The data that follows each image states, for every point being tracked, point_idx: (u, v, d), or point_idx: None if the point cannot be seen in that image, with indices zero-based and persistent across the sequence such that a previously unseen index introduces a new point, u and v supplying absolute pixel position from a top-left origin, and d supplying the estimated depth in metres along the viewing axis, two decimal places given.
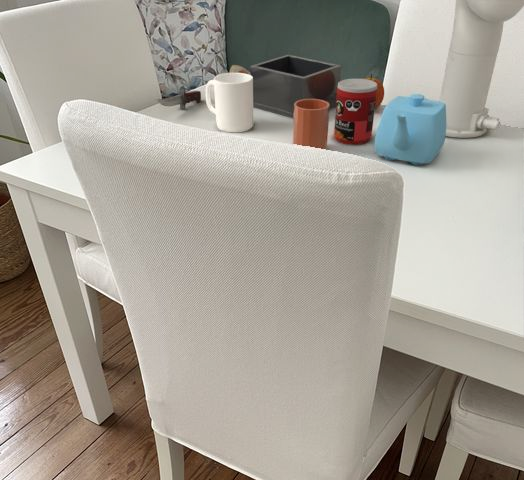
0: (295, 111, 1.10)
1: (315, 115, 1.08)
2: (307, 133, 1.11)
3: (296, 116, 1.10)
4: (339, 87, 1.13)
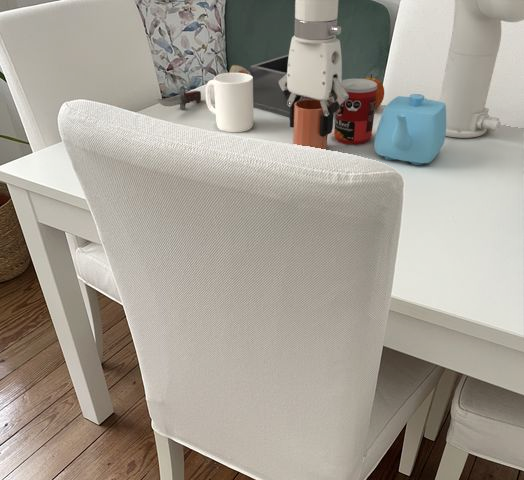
0: (295, 111, 1.10)
1: (315, 115, 1.08)
2: (307, 133, 1.11)
3: (296, 116, 1.10)
4: None
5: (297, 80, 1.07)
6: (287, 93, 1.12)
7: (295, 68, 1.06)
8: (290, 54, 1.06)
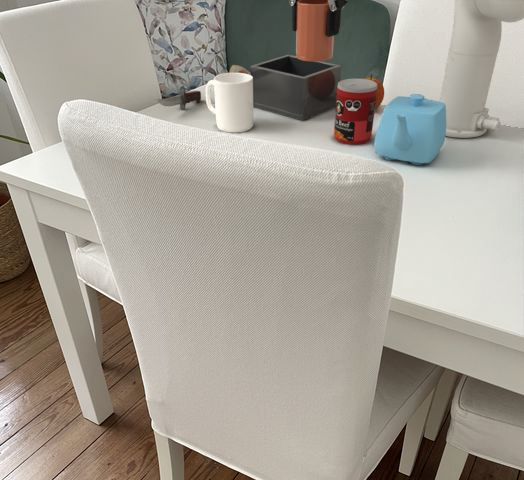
0: (298, 9, 1.00)
1: (320, 10, 0.99)
2: (312, 33, 1.01)
3: (299, 14, 1.01)
4: (339, 87, 1.13)
5: None
6: None
7: None
8: None
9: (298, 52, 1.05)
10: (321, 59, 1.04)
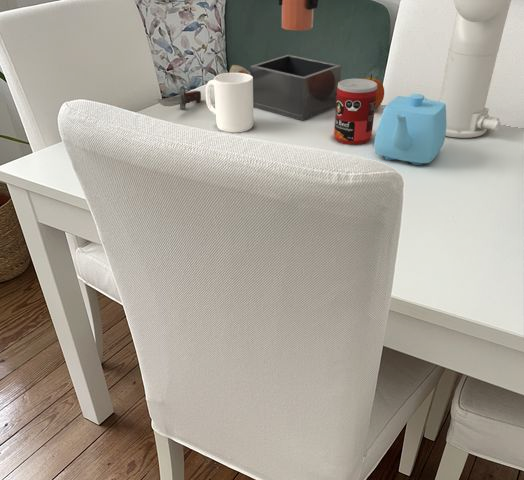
0: None
1: None
2: (294, 6, 1.20)
3: None
4: (339, 87, 1.13)
5: None
6: None
7: None
8: None
9: (283, 23, 1.24)
10: (302, 29, 1.23)
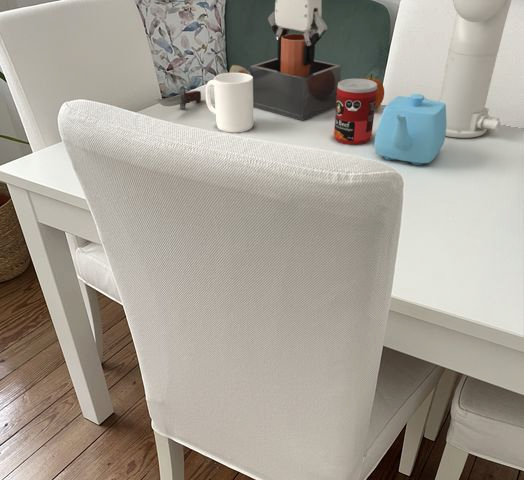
0: (282, 43, 1.28)
1: (299, 45, 1.26)
2: (292, 62, 1.29)
3: (282, 47, 1.28)
4: (339, 87, 1.13)
5: (283, 14, 1.25)
6: (275, 28, 1.30)
7: (282, 3, 1.24)
8: None
9: None
10: None
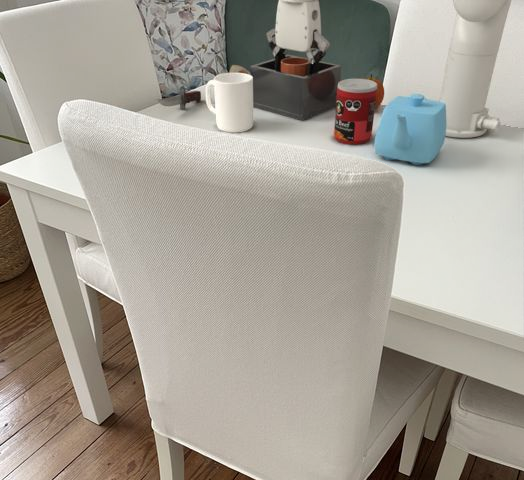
0: (281, 67, 1.31)
1: (298, 69, 1.29)
2: None
3: (282, 71, 1.31)
4: (339, 87, 1.13)
5: (284, 36, 1.28)
6: (272, 44, 1.32)
7: (282, 25, 1.26)
8: (277, 14, 1.26)
9: None
10: None
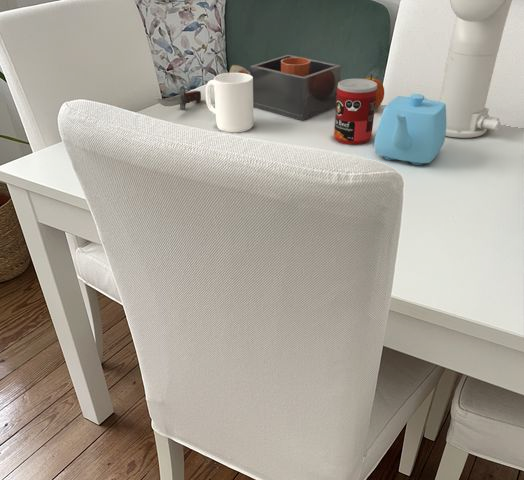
0: (281, 67, 1.31)
1: (298, 69, 1.29)
2: None
3: (282, 71, 1.31)
4: (339, 87, 1.13)
5: None
6: None
7: None
8: None
9: None
10: None
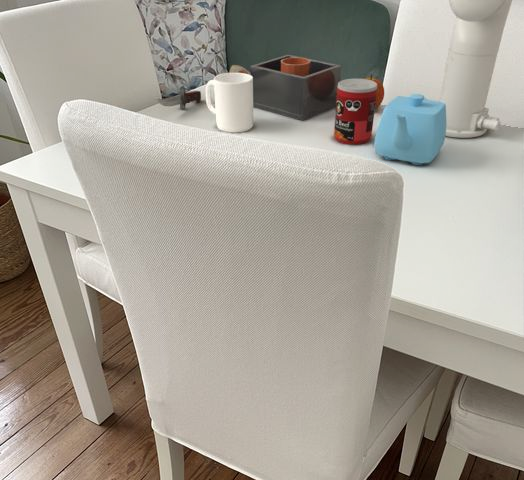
0: (281, 67, 1.31)
1: (298, 69, 1.29)
2: None
3: (282, 71, 1.31)
4: (339, 87, 1.13)
5: None
6: None
7: None
8: None
9: None
10: None
